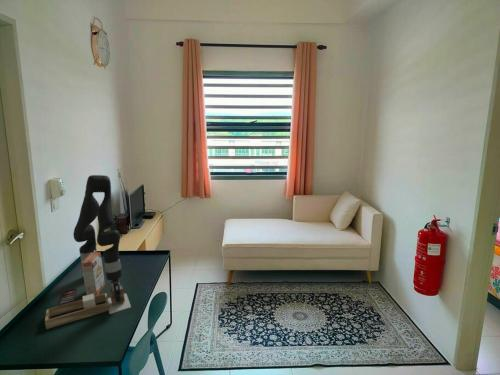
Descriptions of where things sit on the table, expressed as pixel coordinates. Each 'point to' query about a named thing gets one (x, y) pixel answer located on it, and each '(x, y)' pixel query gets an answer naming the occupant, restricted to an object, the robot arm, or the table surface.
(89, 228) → the robot arm
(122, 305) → the pad
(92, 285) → the cracker box
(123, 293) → the walnut block
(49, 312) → the bin
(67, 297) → the smartphone
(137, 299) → the table surface
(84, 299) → the cream block
